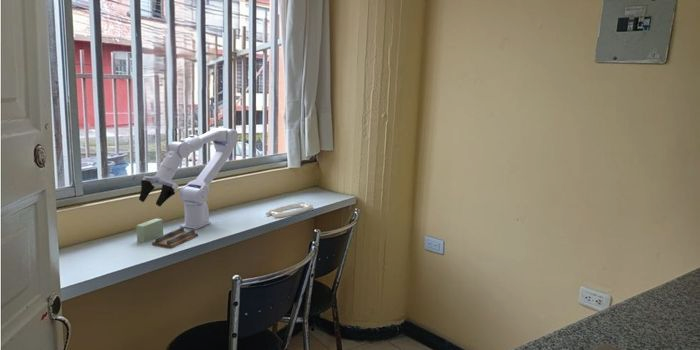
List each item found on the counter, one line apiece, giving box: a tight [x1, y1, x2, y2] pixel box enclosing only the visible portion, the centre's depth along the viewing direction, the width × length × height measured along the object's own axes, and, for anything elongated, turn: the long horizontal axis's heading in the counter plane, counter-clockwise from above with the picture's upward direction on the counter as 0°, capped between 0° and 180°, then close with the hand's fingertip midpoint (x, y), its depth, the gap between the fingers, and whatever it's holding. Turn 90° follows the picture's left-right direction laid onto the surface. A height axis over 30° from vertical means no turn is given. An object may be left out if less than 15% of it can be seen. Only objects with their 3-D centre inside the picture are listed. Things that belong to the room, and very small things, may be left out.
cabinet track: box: [151, 227, 199, 249], centre depth 177 cm, size 15×8×2 cm, turn 161°
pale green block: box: [136, 218, 164, 243], centre depth 179 cm, size 10×3×6 cm, turn 161°
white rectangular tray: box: [265, 201, 314, 219], centre depth 220 cm, size 3×10×25 cm
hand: (149, 203), depth 175 cm, fingers open, 7 cm apart
